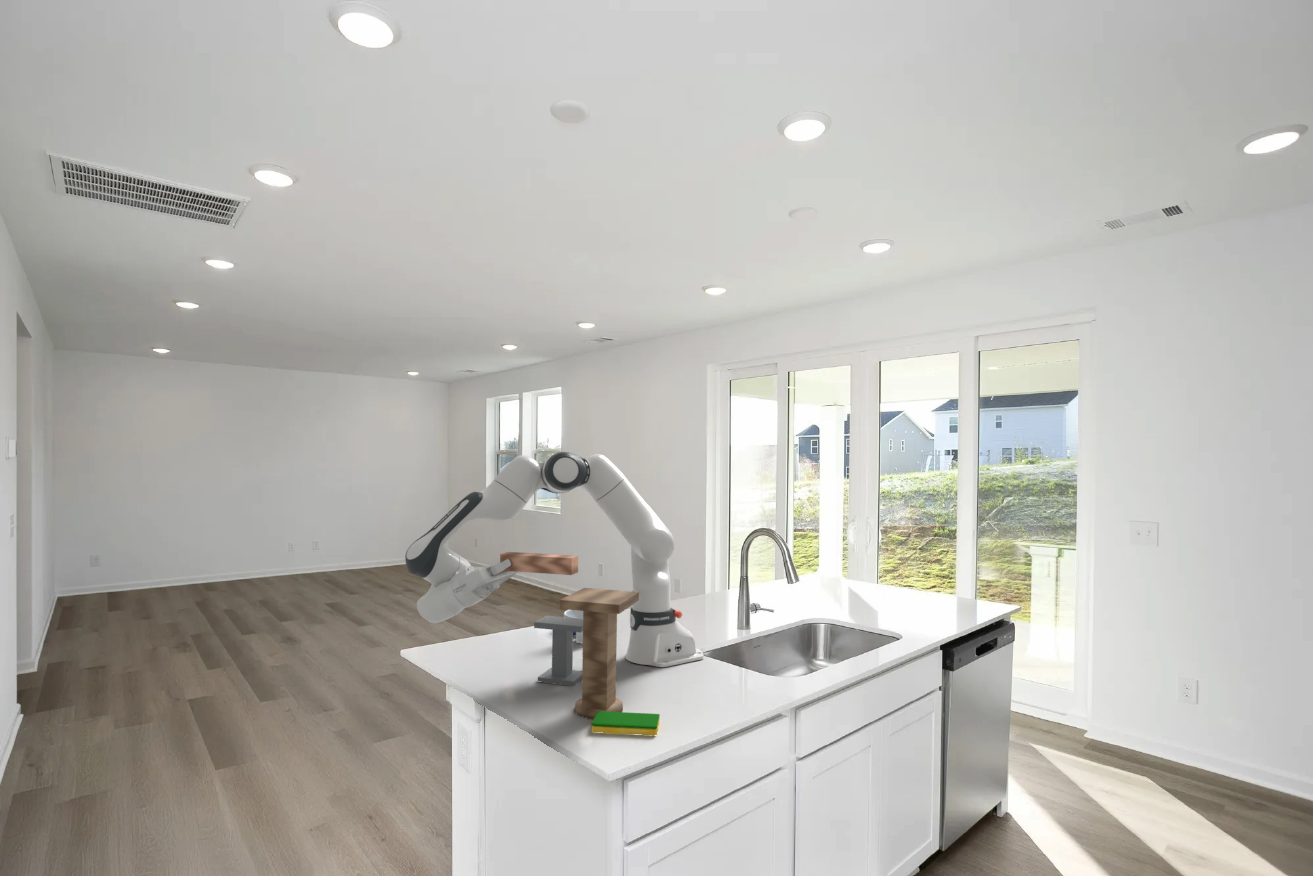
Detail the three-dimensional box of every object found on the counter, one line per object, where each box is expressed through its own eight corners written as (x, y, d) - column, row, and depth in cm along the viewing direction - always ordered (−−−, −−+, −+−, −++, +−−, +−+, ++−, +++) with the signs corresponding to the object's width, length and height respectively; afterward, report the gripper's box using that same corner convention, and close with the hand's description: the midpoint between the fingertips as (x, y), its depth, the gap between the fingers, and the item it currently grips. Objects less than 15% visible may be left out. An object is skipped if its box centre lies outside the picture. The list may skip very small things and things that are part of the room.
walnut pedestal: (637, 702, 159) (638, 592, 160) (617, 725, 146) (619, 604, 146) (582, 695, 163) (584, 587, 164) (558, 717, 150) (559, 599, 150)
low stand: (591, 676, 177) (592, 619, 177) (579, 687, 169) (580, 627, 169) (546, 671, 180) (546, 615, 181) (532, 681, 173) (533, 622, 173)
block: (578, 572, 164) (578, 555, 164) (571, 575, 160) (571, 558, 160) (508, 567, 169) (508, 551, 169) (500, 570, 165) (500, 554, 165)
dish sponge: (597, 721, 149) (597, 710, 149) (659, 724, 148) (659, 713, 148) (591, 735, 142) (591, 723, 142) (656, 738, 141) (656, 726, 141)
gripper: (443, 581, 160) (488, 554, 157) (488, 567, 180) (529, 543, 176) (454, 605, 159) (500, 579, 156) (498, 588, 179) (539, 564, 176)
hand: (516, 559), depth 166 cm, fingers closed on block, 4 cm apart
